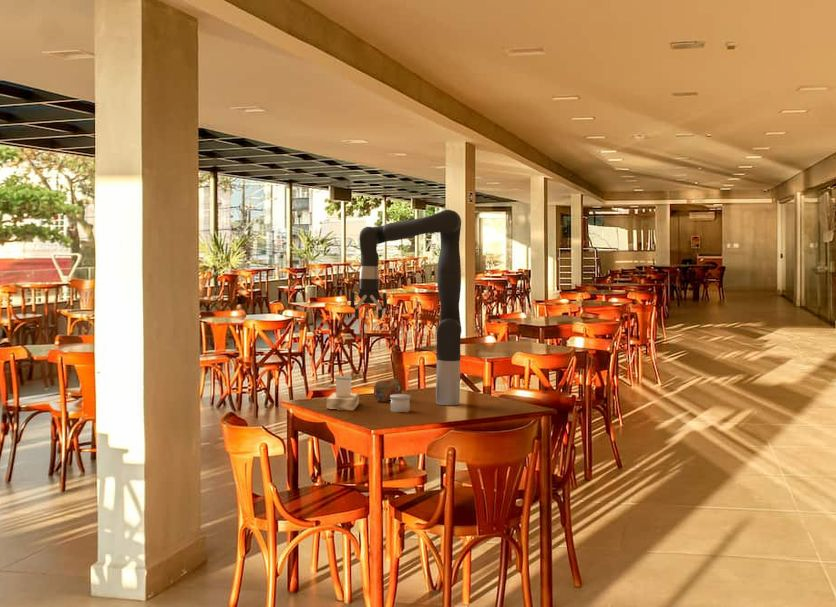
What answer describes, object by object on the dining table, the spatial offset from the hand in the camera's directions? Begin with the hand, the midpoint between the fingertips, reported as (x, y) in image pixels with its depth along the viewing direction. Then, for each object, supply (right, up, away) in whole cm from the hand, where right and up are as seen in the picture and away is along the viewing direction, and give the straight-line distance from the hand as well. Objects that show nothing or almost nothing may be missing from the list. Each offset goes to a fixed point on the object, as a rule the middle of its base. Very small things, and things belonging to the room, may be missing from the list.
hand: (368, 318), depth 369 cm
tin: (+7, -33, +2) cm, 33 cm away
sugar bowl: (+13, -34, -23) cm, 43 cm away
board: (-9, -33, -16) cm, 37 cm away
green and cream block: (-9, -29, -16) cm, 34 cm away
